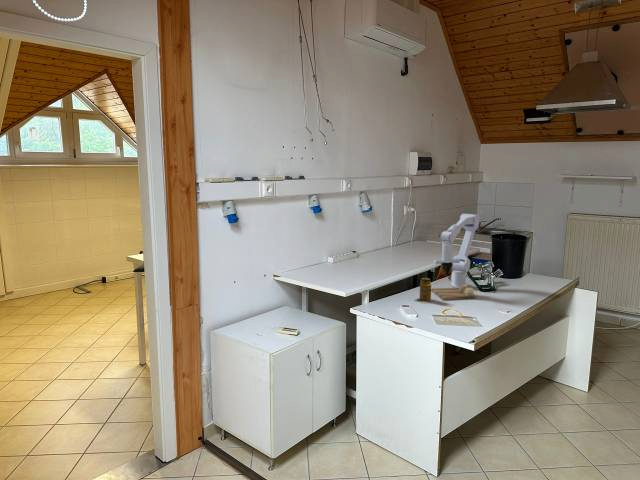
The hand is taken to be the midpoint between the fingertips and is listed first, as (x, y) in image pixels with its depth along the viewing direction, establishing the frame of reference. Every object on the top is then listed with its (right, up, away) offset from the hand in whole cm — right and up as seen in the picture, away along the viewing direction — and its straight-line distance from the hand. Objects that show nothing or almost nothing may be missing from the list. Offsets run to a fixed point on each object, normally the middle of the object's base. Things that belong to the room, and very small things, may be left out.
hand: (446, 275), depth 273 cm
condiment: (-16, -13, -14) cm, 25 cm away
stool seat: (+2, -10, -5) cm, 12 cm away
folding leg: (+9, -9, -6) cm, 14 cm away
